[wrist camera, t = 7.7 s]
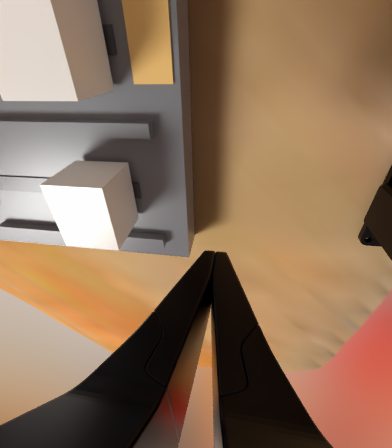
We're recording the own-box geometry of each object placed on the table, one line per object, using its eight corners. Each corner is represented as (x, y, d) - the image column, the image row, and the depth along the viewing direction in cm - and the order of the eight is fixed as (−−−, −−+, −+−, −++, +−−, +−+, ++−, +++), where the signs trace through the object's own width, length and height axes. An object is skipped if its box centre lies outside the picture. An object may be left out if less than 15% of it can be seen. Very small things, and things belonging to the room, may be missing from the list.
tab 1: (92, -22, 9) (36, -50, 6) (114, 90, 11) (77, 101, 8) (19, -18, 9) (-59, -41, 7) (53, 90, 11) (3, 101, 9)
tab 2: (128, 162, 13) (101, 188, 10) (138, 218, 15) (118, 250, 13) (76, 160, 13) (39, 184, 11) (93, 215, 15) (66, 245, 13)
